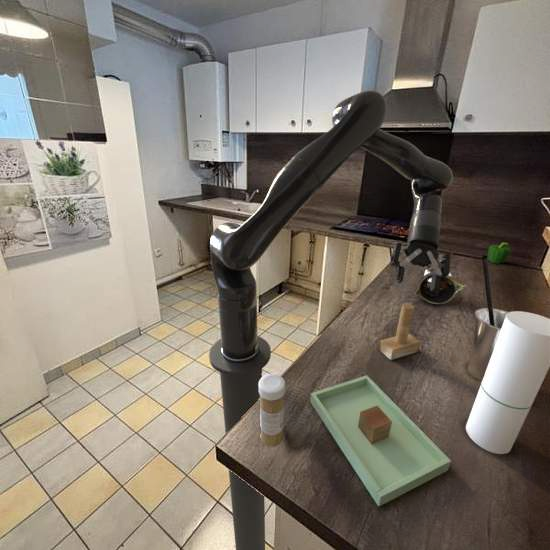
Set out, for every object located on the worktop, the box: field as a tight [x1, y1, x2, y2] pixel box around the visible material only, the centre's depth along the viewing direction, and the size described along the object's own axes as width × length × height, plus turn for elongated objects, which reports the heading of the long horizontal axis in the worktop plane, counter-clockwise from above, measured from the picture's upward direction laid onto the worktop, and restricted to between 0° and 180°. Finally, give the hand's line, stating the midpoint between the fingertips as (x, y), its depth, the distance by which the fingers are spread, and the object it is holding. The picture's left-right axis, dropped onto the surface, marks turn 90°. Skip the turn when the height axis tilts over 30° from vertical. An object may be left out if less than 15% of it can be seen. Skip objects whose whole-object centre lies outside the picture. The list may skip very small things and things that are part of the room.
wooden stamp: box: [379, 302, 421, 361], centre depth 75 cm, size 4×9×14 cm, turn 112°
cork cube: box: [358, 406, 392, 444], centre depth 54 cm, size 4×4×4 cm
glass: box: [466, 255, 510, 382], centre depth 64 cm, size 11×11×30 cm
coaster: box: [423, 269, 453, 283], centre depth 121 cm, size 10×10×4 cm
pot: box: [412, 273, 470, 305], centre depth 106 cm, size 17×11×18 cm
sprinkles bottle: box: [259, 373, 286, 448], centre depth 52 cm, size 5×5×14 cm
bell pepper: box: [487, 242, 511, 265], centre depth 140 cm, size 8×8×10 cm
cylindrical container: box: [465, 310, 550, 455], centre depth 50 cm, size 7×7×25 cm
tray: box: [309, 374, 452, 507], centre depth 55 cm, size 22×15×2 cm
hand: (416, 286), depth 74 cm, fingers open, 8 cm apart
